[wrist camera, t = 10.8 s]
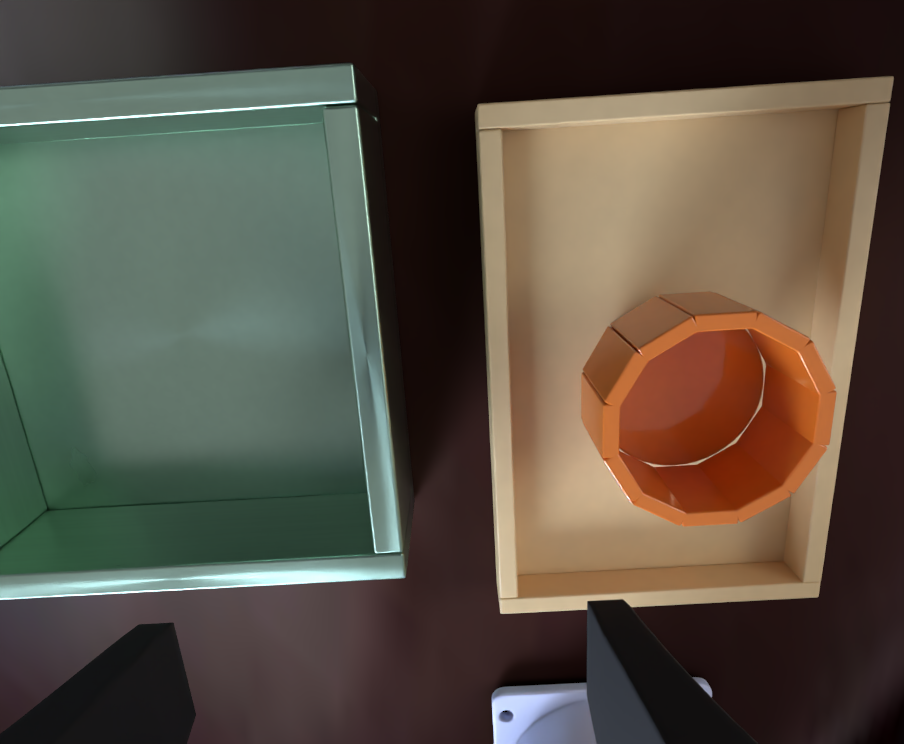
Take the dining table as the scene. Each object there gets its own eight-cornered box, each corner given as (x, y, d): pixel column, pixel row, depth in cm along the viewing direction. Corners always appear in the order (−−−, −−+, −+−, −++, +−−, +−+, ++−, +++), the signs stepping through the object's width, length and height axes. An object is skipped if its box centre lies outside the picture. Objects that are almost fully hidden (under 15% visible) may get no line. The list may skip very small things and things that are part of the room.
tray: (790, 565, 21) (819, 598, 19) (496, 581, 21) (500, 614, 19) (851, 85, 16) (895, 75, 15) (474, 111, 16) (477, 103, 15)
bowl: (736, 443, 19) (820, 520, 15) (567, 452, 19) (601, 531, 15) (751, 274, 17) (849, 305, 13) (566, 286, 17) (604, 320, 13)
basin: (414, 501, 20) (405, 579, 16) (43, 522, 20) (-54, 603, 16) (377, 89, 16) (353, 61, 12) (-80, 121, 17) (-244, 102, 13)
